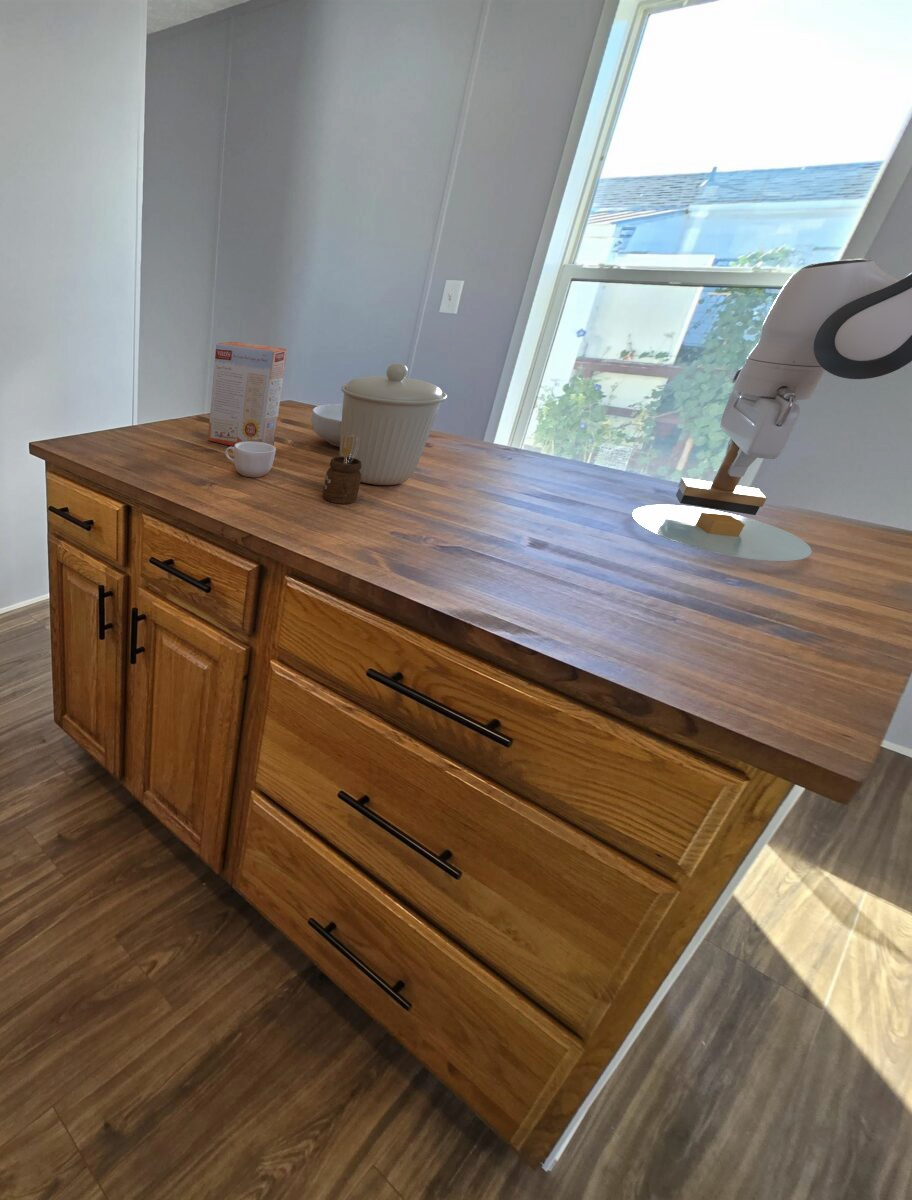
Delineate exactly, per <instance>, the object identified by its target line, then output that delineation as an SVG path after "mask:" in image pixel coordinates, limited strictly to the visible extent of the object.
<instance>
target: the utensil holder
mask: <svg viewBox="0 0 912 1200" xmlns="http://www.w3.org/2000/svg"><path fill="white" fill-rule="evenodd" d="M350 436H352V435H350ZM355 436H356V435H355ZM345 438H346V436H344V438H343V445H342V451H341V452H342V453H343V454H344V457H343V456H341V457H340V456H334V457H332V458H331V460H330V462H329V467H328V469H327V471H326V473H325V476H324V477H325V478H324V483H323V488H322V489H323V490H322V497H323V499H324V500H325V501H327V502H330V503H333V504H339V505H349V504H350V505H351V504H353V503H355V502H356V501H357V498H358V495H359V491H360V485H361V482H360V481H361V473H360V471H359V470H360V469H361V461H360V460H358V459H356V458H352V457H347V455H348V454H350V453H351V451H352V450H351V449H352V447H353V445H352V443H353V442H354V441H353V437H351V443H350V448H348V444H349V439H350V438H349V436H348V437H347V439H346V440H347V444H346V448H344V447H345V446H344V445H345V443H346V442H345ZM356 438H358V436H357V437H356ZM359 442H360V440H359ZM356 445H358V444H357V443H356ZM358 448H359V446H358ZM355 449H356V448H355ZM356 450H357V449H356ZM354 453H355V452H354ZM356 454H357V453H356ZM350 455H351V454H350ZM353 455H355V454H353ZM353 457H354V456H353Z"/></svg>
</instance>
